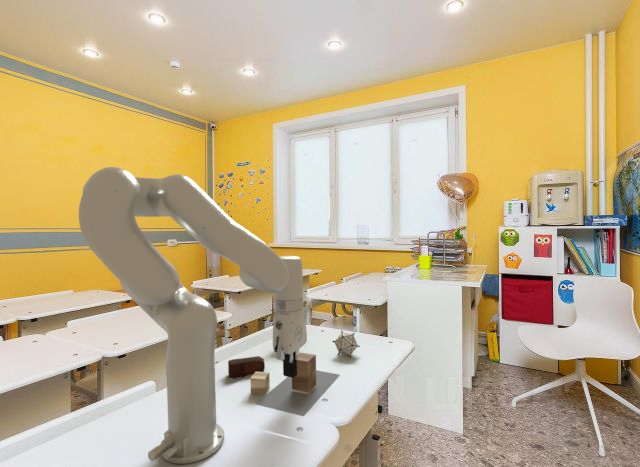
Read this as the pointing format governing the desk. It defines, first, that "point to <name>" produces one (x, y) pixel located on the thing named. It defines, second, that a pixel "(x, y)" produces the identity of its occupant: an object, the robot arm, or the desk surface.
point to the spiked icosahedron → (346, 343)
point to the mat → (297, 395)
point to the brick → (245, 366)
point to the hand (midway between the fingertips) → (290, 375)
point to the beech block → (260, 383)
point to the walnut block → (305, 374)
